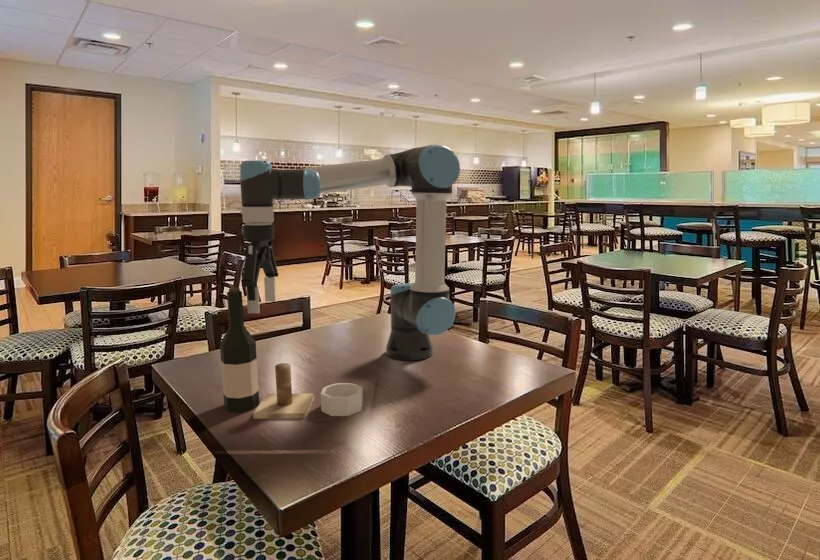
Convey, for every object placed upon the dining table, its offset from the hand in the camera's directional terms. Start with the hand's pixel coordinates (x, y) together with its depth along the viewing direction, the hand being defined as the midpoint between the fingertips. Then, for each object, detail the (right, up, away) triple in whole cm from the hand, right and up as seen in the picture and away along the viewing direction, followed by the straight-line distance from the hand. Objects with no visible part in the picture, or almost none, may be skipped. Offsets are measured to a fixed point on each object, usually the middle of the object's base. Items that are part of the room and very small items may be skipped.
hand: (262, 307), depth 138 cm
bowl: (+21, -25, -7) cm, 33 cm away
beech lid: (+7, -24, -7) cm, 26 cm away
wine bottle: (-4, -25, -5) cm, 26 cm away
